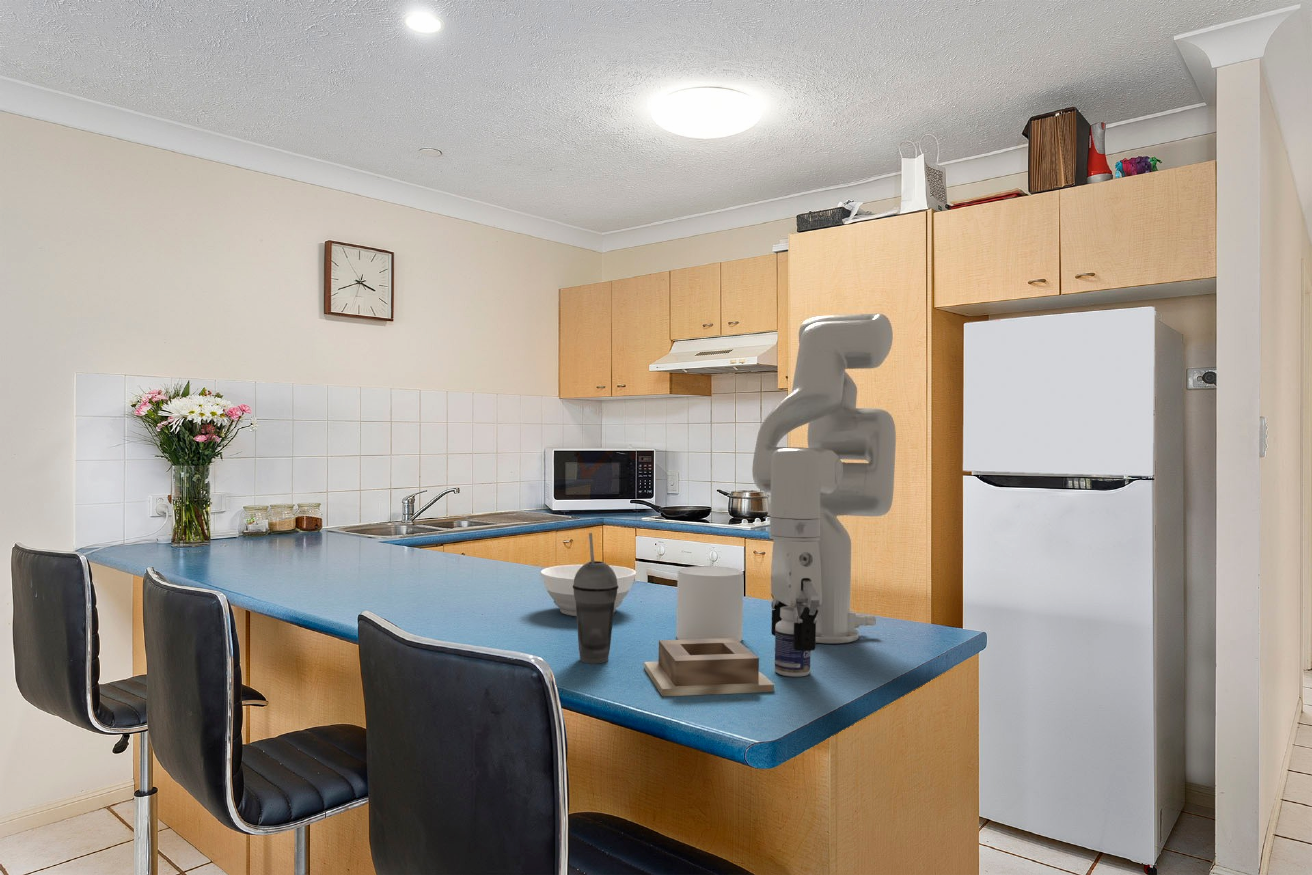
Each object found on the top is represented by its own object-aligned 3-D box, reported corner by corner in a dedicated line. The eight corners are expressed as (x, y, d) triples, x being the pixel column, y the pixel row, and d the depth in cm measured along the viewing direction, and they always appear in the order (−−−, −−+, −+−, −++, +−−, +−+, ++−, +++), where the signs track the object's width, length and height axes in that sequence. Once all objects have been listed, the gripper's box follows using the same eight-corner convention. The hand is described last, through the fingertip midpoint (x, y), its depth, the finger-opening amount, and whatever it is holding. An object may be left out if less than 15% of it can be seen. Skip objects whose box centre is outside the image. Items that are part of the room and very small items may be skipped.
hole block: (744, 664, 129) (745, 636, 129) (774, 691, 115) (774, 659, 115) (644, 668, 126) (644, 638, 126) (662, 696, 112) (662, 663, 112)
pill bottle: (810, 678, 122) (811, 612, 122) (773, 676, 123) (774, 610, 123) (810, 669, 127) (811, 606, 127) (775, 666, 128) (776, 604, 128)
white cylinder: (685, 647, 139) (686, 576, 139) (670, 631, 151) (671, 566, 151) (751, 645, 142) (752, 575, 142) (731, 629, 153) (732, 565, 153)
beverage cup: (599, 668, 125) (601, 537, 125) (561, 660, 129) (564, 533, 129) (626, 658, 131) (628, 533, 131) (589, 651, 135) (591, 530, 135)
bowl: (633, 623, 157) (634, 580, 157) (532, 621, 157) (533, 578, 158) (637, 603, 177) (638, 565, 177) (547, 601, 177) (547, 563, 177)
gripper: (841, 535, 117) (839, 655, 117) (797, 524, 134) (795, 629, 134) (791, 535, 116) (788, 657, 115) (753, 524, 133) (751, 630, 132)
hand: (792, 642), depth 125 cm, fingers open, 9 cm apart
